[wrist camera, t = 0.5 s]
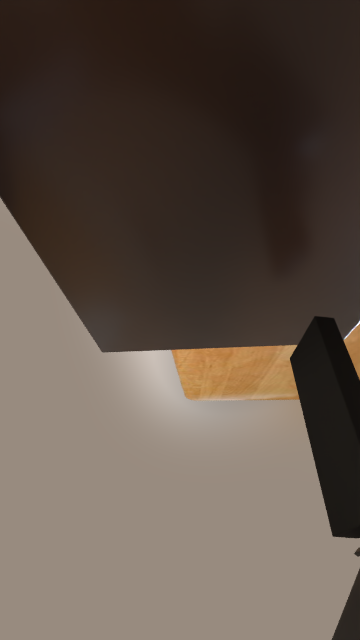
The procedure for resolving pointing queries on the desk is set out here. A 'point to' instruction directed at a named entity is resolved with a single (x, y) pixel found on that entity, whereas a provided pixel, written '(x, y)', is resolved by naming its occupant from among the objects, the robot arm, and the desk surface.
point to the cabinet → (187, 164)
